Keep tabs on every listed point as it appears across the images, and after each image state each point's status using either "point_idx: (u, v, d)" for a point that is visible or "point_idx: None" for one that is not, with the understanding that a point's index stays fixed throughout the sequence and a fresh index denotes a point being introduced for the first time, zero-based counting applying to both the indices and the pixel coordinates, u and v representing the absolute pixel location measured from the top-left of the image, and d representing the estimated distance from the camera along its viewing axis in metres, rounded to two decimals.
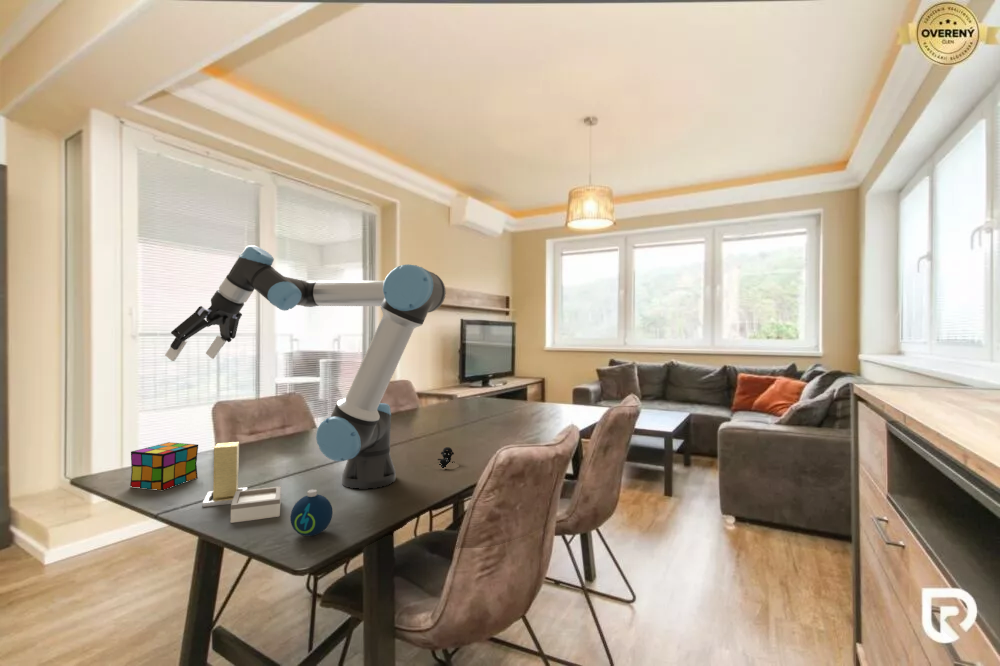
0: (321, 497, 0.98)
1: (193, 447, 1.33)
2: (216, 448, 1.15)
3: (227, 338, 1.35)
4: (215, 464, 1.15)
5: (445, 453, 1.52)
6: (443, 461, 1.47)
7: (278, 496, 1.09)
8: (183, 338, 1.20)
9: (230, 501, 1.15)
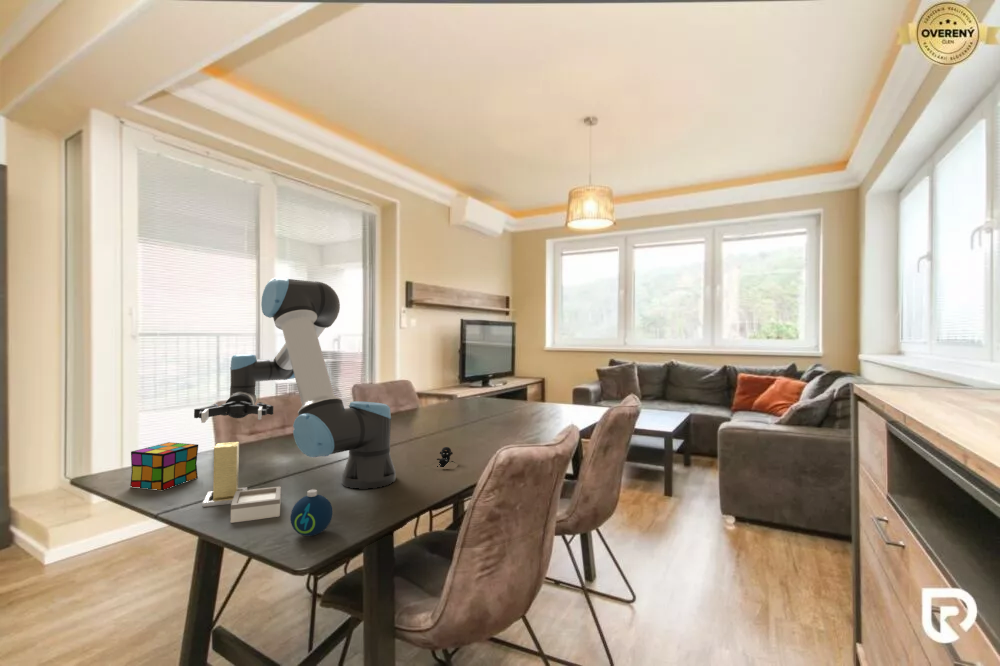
0: (321, 497, 0.98)
1: (193, 447, 1.33)
2: (216, 448, 1.15)
3: (262, 406, 1.37)
4: (215, 464, 1.15)
5: (444, 453, 1.52)
6: (442, 461, 1.47)
7: (278, 496, 1.09)
8: None
9: (230, 501, 1.15)
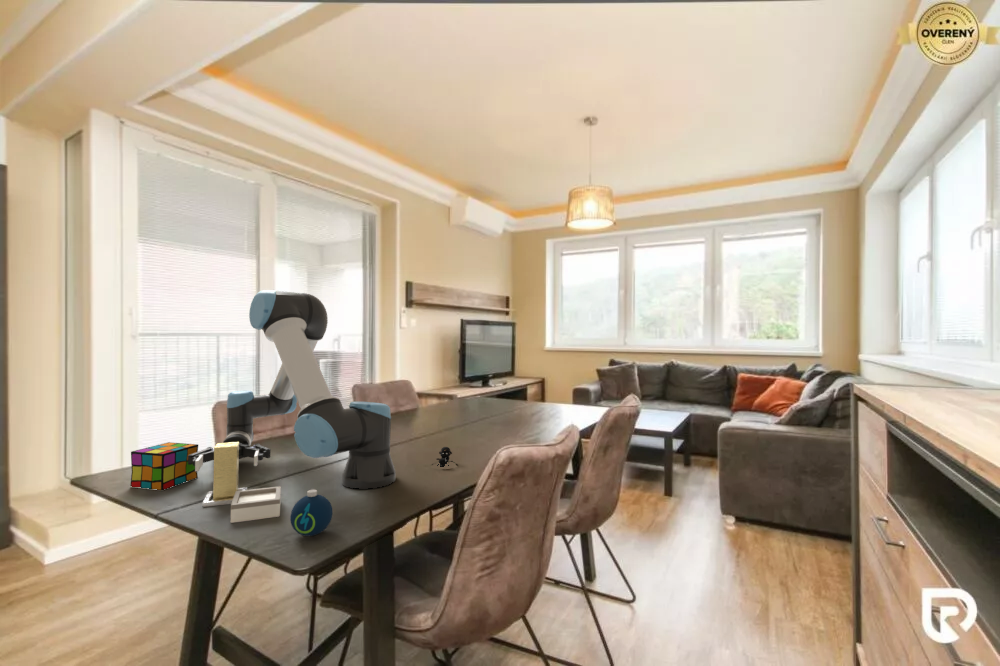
0: (321, 497, 0.98)
1: (193, 447, 1.33)
2: (216, 448, 1.15)
3: (259, 449, 1.32)
4: (215, 464, 1.15)
5: (444, 453, 1.52)
6: (442, 461, 1.47)
7: (278, 496, 1.09)
8: None
9: (230, 501, 1.15)
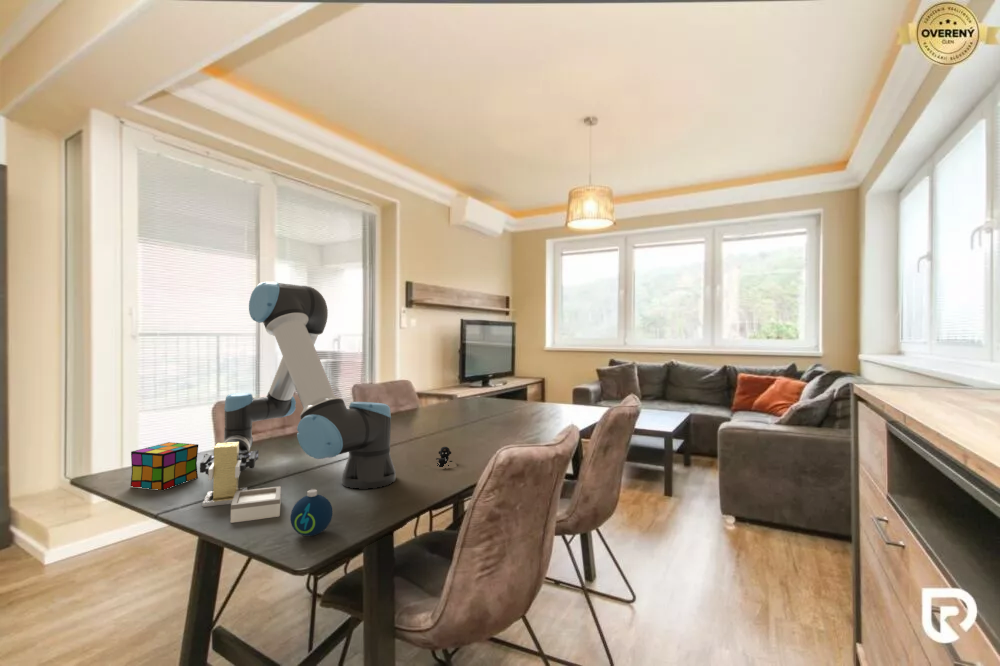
0: (321, 497, 0.98)
1: (193, 447, 1.33)
2: (216, 448, 1.15)
3: None
4: (215, 464, 1.15)
5: (443, 452, 1.53)
6: (442, 460, 1.48)
7: (278, 496, 1.09)
8: (208, 462, 1.18)
9: (230, 501, 1.15)
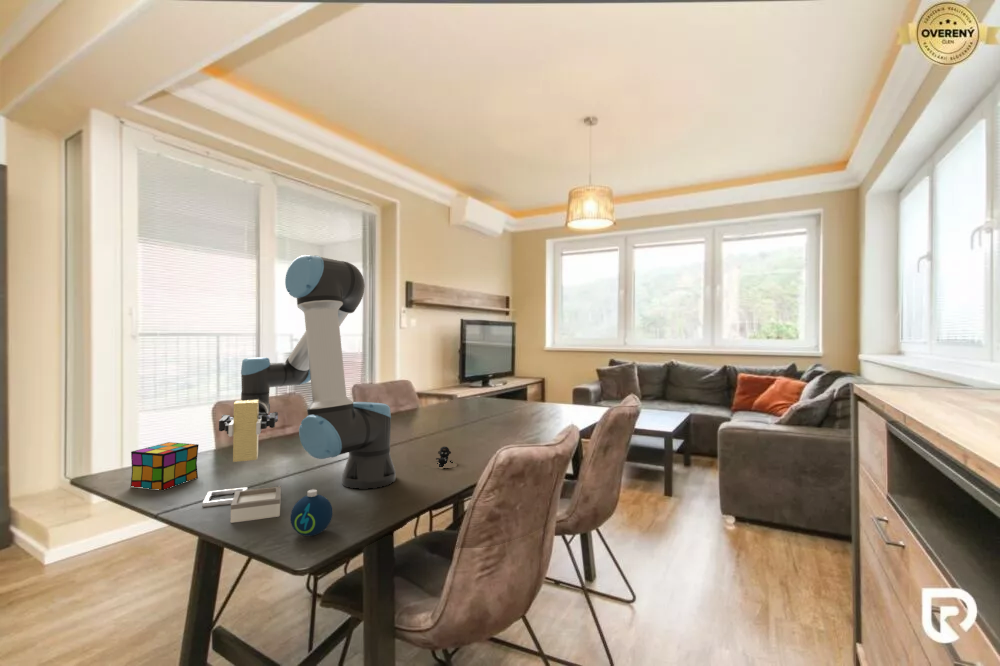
0: (321, 497, 0.98)
1: (193, 447, 1.33)
2: (236, 404, 1.10)
3: None
4: (235, 421, 1.10)
5: (443, 452, 1.53)
6: (441, 460, 1.48)
7: (278, 496, 1.09)
8: (227, 420, 1.13)
9: (230, 501, 1.15)
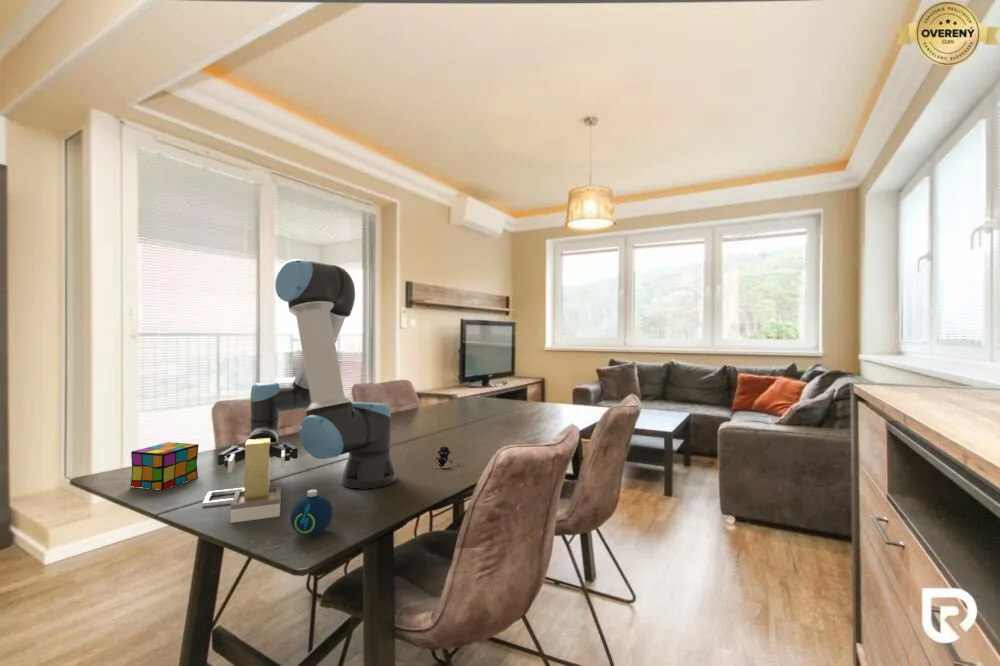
0: (321, 497, 0.98)
1: (193, 447, 1.33)
2: (247, 445, 1.07)
3: None
4: (246, 462, 1.07)
5: (442, 452, 1.53)
6: (441, 460, 1.48)
7: (278, 496, 1.09)
8: (227, 454, 1.10)
9: (230, 501, 1.15)
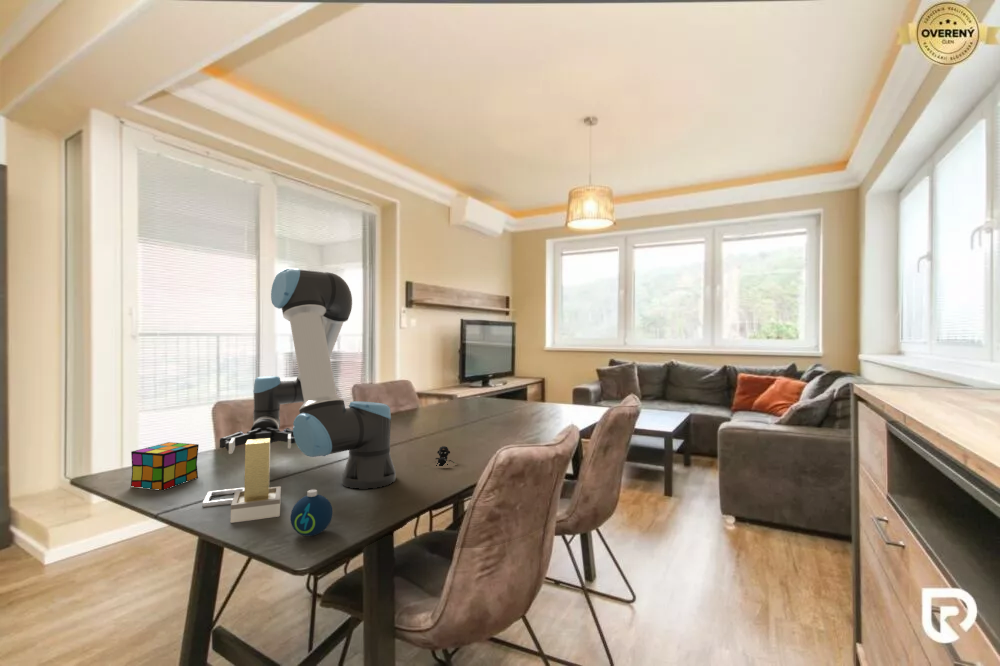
0: (321, 497, 0.98)
1: (193, 447, 1.33)
2: (247, 445, 1.07)
3: (291, 433, 1.29)
4: (246, 462, 1.07)
5: (442, 452, 1.53)
6: (441, 460, 1.48)
7: (278, 496, 1.09)
8: None
9: (230, 501, 1.15)
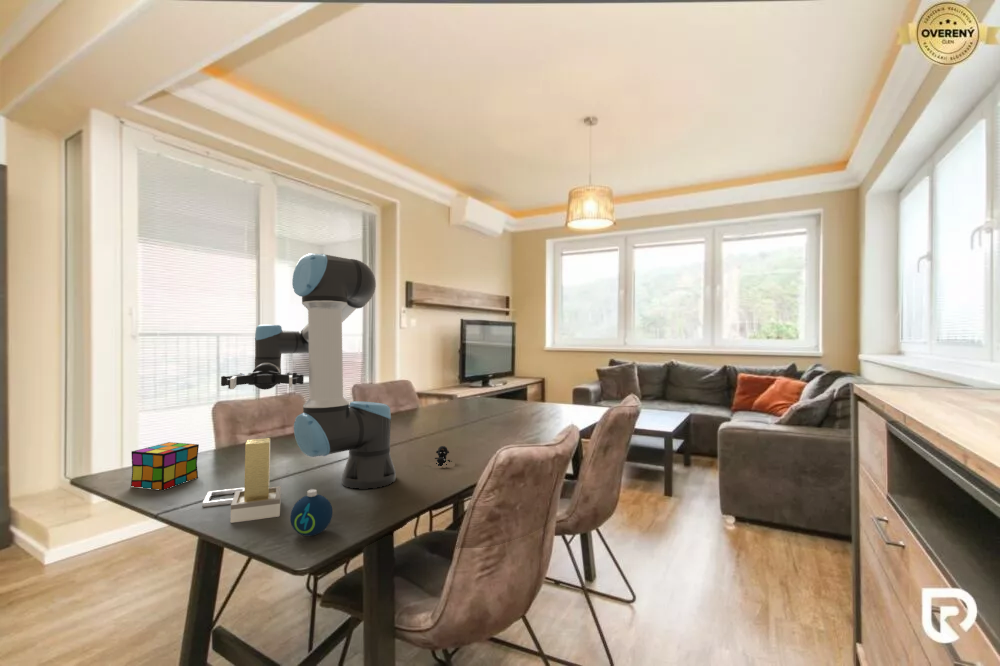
0: (321, 497, 0.98)
1: (193, 447, 1.33)
2: (247, 445, 1.07)
3: (292, 375, 1.29)
4: (246, 462, 1.07)
5: (441, 452, 1.53)
6: (440, 460, 1.48)
7: (278, 496, 1.09)
8: None
9: (230, 501, 1.15)
